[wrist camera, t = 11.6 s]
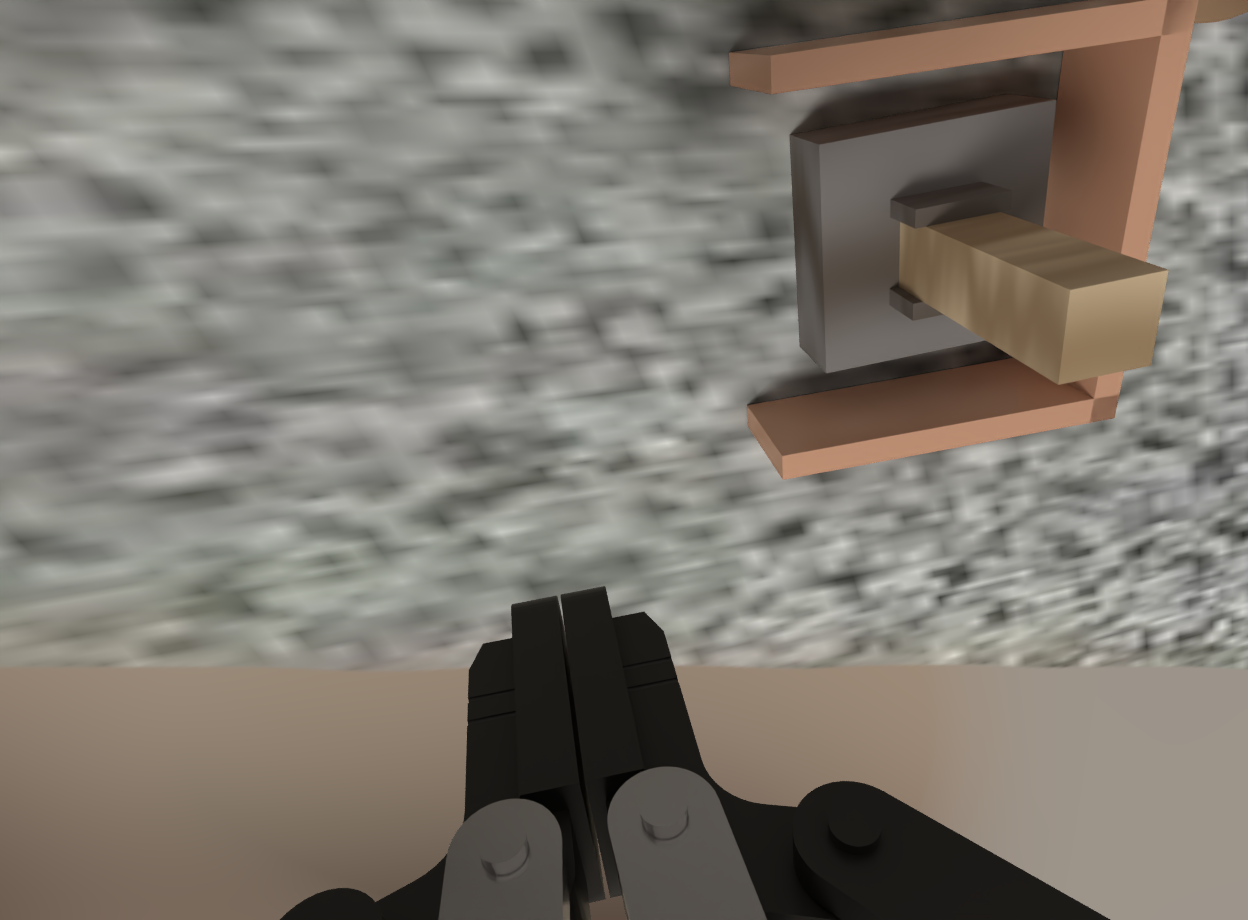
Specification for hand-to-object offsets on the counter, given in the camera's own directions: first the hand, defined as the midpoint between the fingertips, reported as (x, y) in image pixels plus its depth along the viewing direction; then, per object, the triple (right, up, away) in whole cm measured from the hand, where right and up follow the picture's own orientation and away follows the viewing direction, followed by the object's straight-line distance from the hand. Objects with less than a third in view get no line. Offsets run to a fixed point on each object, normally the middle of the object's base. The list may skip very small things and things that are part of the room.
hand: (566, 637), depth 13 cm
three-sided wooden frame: (+11, +11, +17) cm, 24 cm away
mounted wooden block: (+11, +12, +17) cm, 24 cm away
